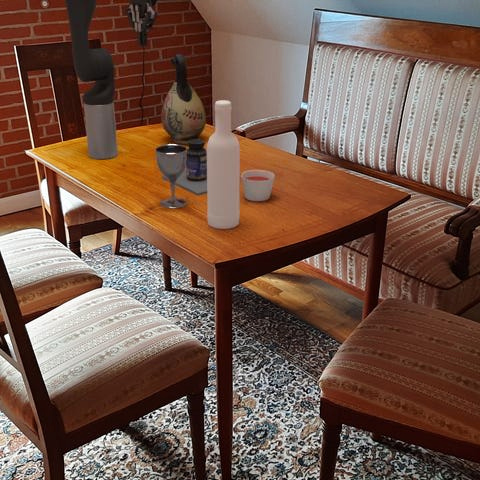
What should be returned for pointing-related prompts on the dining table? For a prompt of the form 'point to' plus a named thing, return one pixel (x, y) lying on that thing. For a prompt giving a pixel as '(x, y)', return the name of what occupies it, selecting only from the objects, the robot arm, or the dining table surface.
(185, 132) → the ceramic jug
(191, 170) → the pill bottle
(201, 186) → the place mat
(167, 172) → the wine glass
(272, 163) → the dining table surface
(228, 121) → the bottle
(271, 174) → the candle
